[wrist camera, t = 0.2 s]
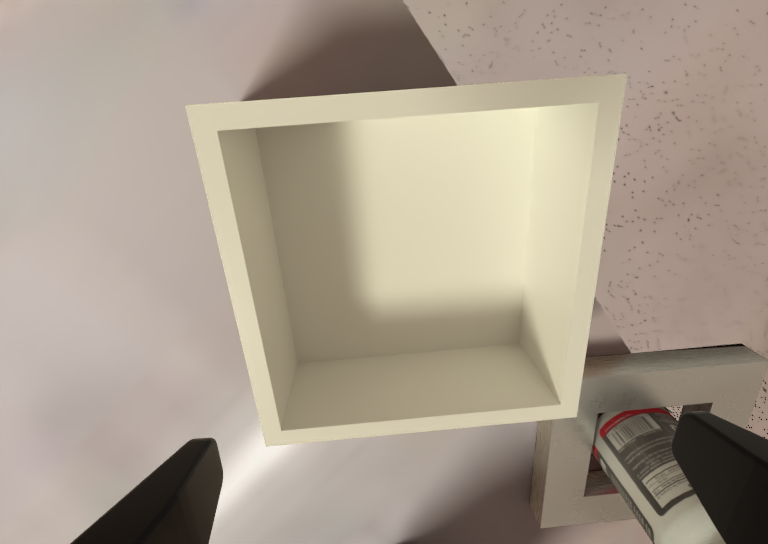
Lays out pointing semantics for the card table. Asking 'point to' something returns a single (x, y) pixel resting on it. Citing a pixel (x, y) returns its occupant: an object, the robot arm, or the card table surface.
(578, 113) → the bin
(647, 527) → the pill bottle
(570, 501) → the socket block
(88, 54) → the card table surface
